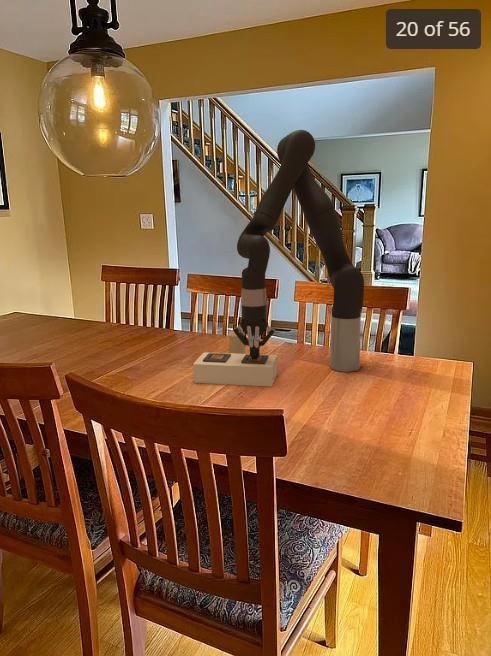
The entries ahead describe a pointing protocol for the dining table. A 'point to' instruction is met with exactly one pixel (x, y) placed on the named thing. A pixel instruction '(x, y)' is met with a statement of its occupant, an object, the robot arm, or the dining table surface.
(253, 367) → the socket board
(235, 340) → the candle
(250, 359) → the peg
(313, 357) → the dining table surface
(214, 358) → the peg
